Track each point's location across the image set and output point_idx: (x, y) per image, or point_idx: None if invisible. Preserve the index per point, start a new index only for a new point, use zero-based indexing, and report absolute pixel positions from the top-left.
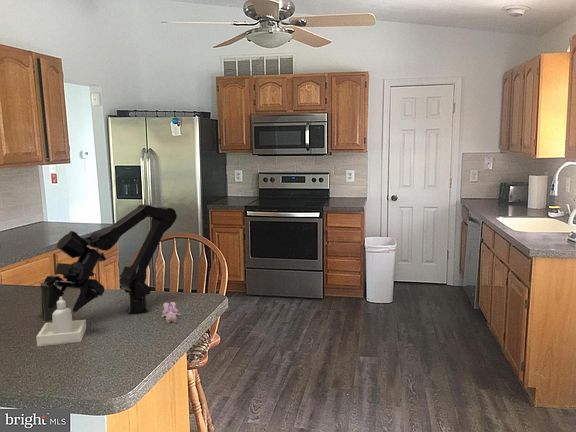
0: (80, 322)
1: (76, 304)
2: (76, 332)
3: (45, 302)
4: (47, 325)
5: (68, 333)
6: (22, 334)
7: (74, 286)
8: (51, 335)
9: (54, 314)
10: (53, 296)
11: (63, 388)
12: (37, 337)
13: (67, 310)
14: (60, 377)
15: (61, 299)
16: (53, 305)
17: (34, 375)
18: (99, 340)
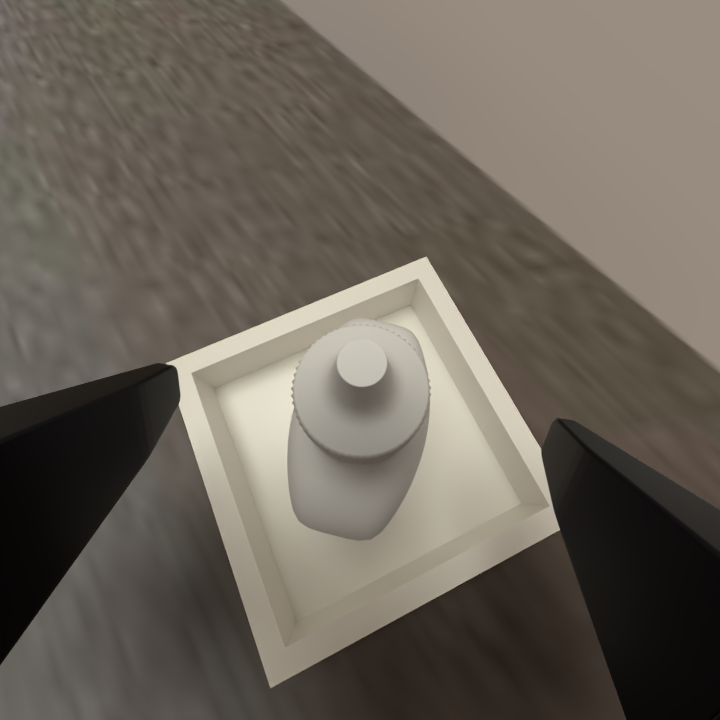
0: (307, 631)
1: (87, 388)
2: (192, 361)
3: None
4: (535, 488)
5: (241, 334)
6: (670, 447)
7: None
8: (342, 291)
9: (380, 322)
10: (680, 562)
11: (58, 8)
12: (419, 262)
13: (290, 432)
14: (107, 61)
15: (336, 357)
16: (560, 506)
17: (220, 61)
18: None
